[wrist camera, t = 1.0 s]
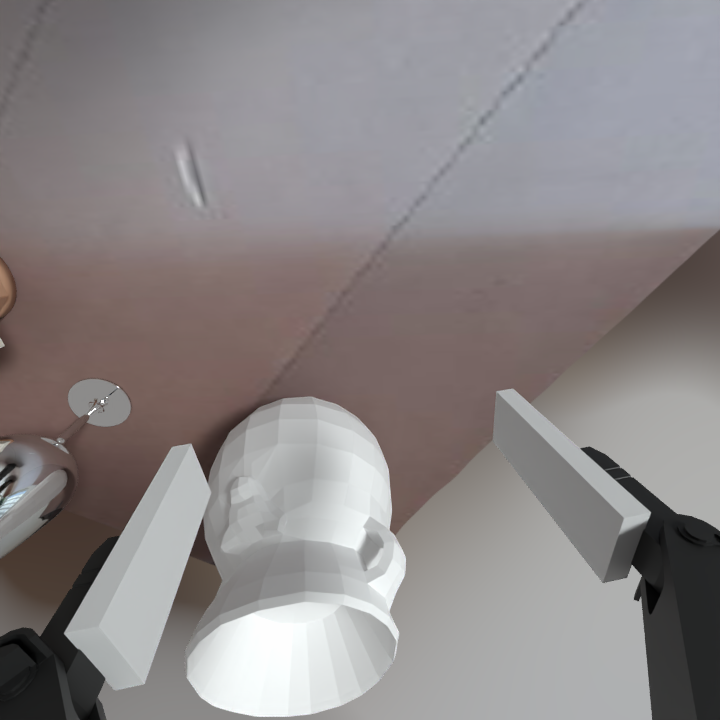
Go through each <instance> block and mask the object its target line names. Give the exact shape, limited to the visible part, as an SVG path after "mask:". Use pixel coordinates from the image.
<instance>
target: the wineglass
mask: <svg viewBox="0 0 720 720" xmlns="http://www.w3.org/2000/svg"><path fill="white" fill-rule="evenodd" d="M68 402H69V405H70V408H71V409H72V411H73V412H74V413H75V414H76V415H77V416H78V417H79V419H78V420H76V421H75V422H74V423H73V424H72V425H71V426H70V427H69V428H68V429H66V430H65V431H64V432H63V433H62V434H61V435H60V436H59V437H57V438H55V439H51V438H48V437H44V436H39V435H32V434H12V435H5V436H0V559H1V558H2V557H4V556H5V555H6V554H8V553H9V552H10V551H12V550H13V549H14V548H16V547H17V546H18V545H20V544H21V543H23V542H24V541H25V540H27V539H28V538H29V537H30V536H32V535H33V534H34V533H36V532H37V531H38V530H39V529H41V528H42V527H43V526H44V525H46V524H47V523H48V522H50V521H51V520H52V519H53V518H54V517H56V515H58V514H59V513H60V512H61V511H62V510H63V509H64V508H65V507H66V506H67V504H68V503H69V502H70V500H71V499H72V497H73V496H74V494H75V491H76V489H77V485H78V478H79V473H78V467H77V463H76V461H75V459H74V457H73V455H72V454H71V452H70V451H69V450H68V449H67V448H66V447H65V442H66V441H67V440H68V439H69V438H70V437H72V436H73V435H74V434H75V433H76V432H77V431H78V430H79V429H80V428H81V427H82V426H83V425H84V424H85V423H86V422H87V423H90V424H93V425H96V426H103V427H109V426H115V425H118V424H120V423H122V422H123V421H125V420H126V419H127V418H128V416H129V415H130V413H131V408H132V406H131V401H130V398H129V396H128V395H127V393H126V392H125V391H124V390H123V389H122V388H121V387H119V386H118V385H116V384H115V383H113V382H110V381H108V380H104V379H99V378H89V379H84V380H81V381H79V382H77V383H76V384H75V385H73V386H72V388H71V389H70V391H69V394H68Z"/></svg>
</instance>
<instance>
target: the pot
mask: <svg viewBox="0 0 720 720" xmlns="http://www.w3.org/2000/svg"><path fill="white" fill-rule="evenodd" d="M15 300H16V284H15V281H14V278H13V276H12V273H11V271H10V270H9V268H8V266H7V265H6V264H5V262H4V261H3V260H2V258H1V257H0V318H2V317H4V316H5V315H7V314H8V313H9V312H10V311H11V309H12V308H13V306H14V304H15Z"/></svg>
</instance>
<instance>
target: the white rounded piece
mask: <svg viewBox="0 0 720 720" xmlns="http://www.w3.org/2000/svg"><path fill="white" fill-rule="evenodd" d="M208 486H209V488H210V490H211V495H210V498H209V501H208V504H207V506H206V509H205V512H204V515H203V519H204V532H205V540H206V543H207V545H208V548H209V550H210V553H211V555H212V558H213V560H214V562H215V565H216V567H217V569H218V572H219V574H220V576H221V578H222V583H221V585H220V587H219V590H218V592H217V595H216V597H215V599H214V601H213V602H212V603H211V605H210V606H209V607H208V609H207V610H206V612H205V613H204V615H203V617H202V618H201V620H200V622H199V623H198V625H197V627H196V628H195V631H194V633H193V635H192V637H191V639H190V641H189V643H188V645H187V647H186V649H185V673H186V676H187V678H188V680H189V681H190V683H191V684H192V686H193V687H194V689H195V690H196V692H197V693H198V694H199V696H200V697H201V698H202V699H204V700H205V701H207V702H208V703H210V704H211V705H213V706H215V707H218V708H221V709H224V710H228V711H231V712H236V713H241V714H246V715H251V716H256V717H288V716H298V715H308V714H314V713H317V712H320V711H324V710H327V709H331V708H335V707H338V706H341V705H343V704H345V703H347V702H349V701H351V700H353V699H355V698H357V697H359V696H361V695H363V694H364V693H365V692H366V691H367V690H369V689H370V688H371V687H372V686H373V685H375V684H376V683H377V682H378V681H379V680H380V679H381V678H382V677H383V675H384V674H385V673H386V671H387V670H388V668H389V667H390V666H391V664H392V663H393V661H394V658H395V655H396V650H397V643H398V637H399V632H398V629H397V627H396V625H395V623H394V621H393V618H392V616H391V614H390V612H389V611H390V608H391V605H392V602H393V599H394V597H395V594H396V592H397V590H398V588H399V586H400V584H401V582H402V580H403V578H404V576H405V567H406V557H405V555H404V553H403V551H402V548H401V546H400V544H399V543H398V540H397V539H396V537H395V535H394V534H393V533H392V532H391V531H390V530H389V529H390V522H391V514H392V504H391V492H390V480H389V469H388V466H387V464H386V461H385V458H384V456H383V453H382V451H381V448H380V446H379V444H378V442H377V440H376V438H375V436H374V435H373V434H372V433H371V432H370V430H369V429H368V428H367V427H366V426H365V425H364V424H363V423H362V422H361V421H360V420H359V419H358V418H357V417H356V416H355V415H353V414H352V413H350V412H348V411H347V410H345V409H344V408H342V407H341V406H339V405H337V404H334V403H331V402H327V401H324V400H321V399H317V398H314V397H297V398H283V399H280V400H277V401H275V402H272V403H269V404H267V405H264V406H261V407H259V408H258V409H256V410H255V411H254V412H253V413H252V414H250V415H249V416H248V417H247V418H246V419H244V420H243V421H242V422H241V423H240V424H238V425H237V426H236V427H235V428H234V429H232V430H231V431H230V433H229V434H228V436H227V438H226V440H225V441H224V443H223V445H222V446H221V448H220V450H219V452H218V454H217V456H216V459H215V461H214V463H213V465H212V468H211V470H210V475H209V480H208Z"/></svg>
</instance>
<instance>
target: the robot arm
mask: <svg viewBox="0 0 720 720" xmlns="http://www.w3.org/2000/svg"><path fill="white" fill-rule="evenodd" d="M493 442H494V444H495V445H496V446H497V447H498V449H499V450H500V451H501V453H502V454H503V455H504V456H505V458H506V459H507V460H508V462H509V463H510V464H511V465H512V467H513V468H514V469H515V470H516V472H517V473H518V474H519V476H520V477H521V478H522V480H523V481H524V482H525V483H526V485H527V486H528V487H529V488H530V490H531V491H532V492H533V494H534V495H535V496H536V498H537V499H538V500H539V501H540V503H541V504H542V505H543V507H544V508H545V509H546V510H547V512H548V513H549V514H550V516H551V517H552V518H553V519H554V521H555V522H556V523H557V524H558V526H559V527H560V528H561V530H562V531H563V532H564V533H565V535H566V536H567V537H568V539H569V540H570V541H571V543H572V544H573V545H574V546H575V548H576V549H577V550H578V552H579V553H580V554H581V555H582V557H583V558H584V559H585V560H586V562H587V563H588V564H589V566H590V567H591V568H592V570H593V571H594V572H595V573H596V575H597V576H598V577H599V578H600V580H601V581H602V582H603V583H605V582H609V581H614V580H619V579H623V578H627V576H628V574H629V571H630V568H631V565H633V566H634V567H635V568H636V569H637V570H638V572H639V573H640V574H641V575H642V577H641V580H640V582H639V585H638V587H637V590H636V593H635V596H634V600H637V601H639V599H640V597H641V598H642V608H643V609H642V610H643V620H644V632H645V643H646V654H647V664H648V676H649V687H650V699H651V710H652V720H720V531H719V530H717V529H716V528H715V527H713V526H711V525H710V524H708V523H706V522H704V521H702V520H700V519H697V518H694V517H692V516H687V515H681V514H676V513H675V512H674V511H673V510H671V509H670V508H669V507H668V506H667V505H665V504H664V503H663V502H662V501H660V500H659V499H658V498H657V497H656V496H654V495H653V494H652V493H651V492H650V491H649V490H647V489H646V488H645V487H644V486H643V485H641V484H640V483H639V482H638V481H637V480H635V479H634V478H631V476H630V475H629V474H628V473H627V472H626V471H625V470H624V469H622V468H620V466H619V465H618V464H616V463H615V462H614V461H613V460H612V459H610V458H609V457H608V456H607V455H605V454H603V453H601V452H599V451H597V450H595V449H593V448H591V447H585V448H579V447H578V446H576V445H575V444H574V443H573V442H572V441H571V440H570V439H568V438H567V437H566V436H565V435H564V434H563V433H562V432H561V431H560V430H558V429H557V428H556V427H555V426H554V425H553V424H552V423H551V422H549V420H547V419H546V418H545V417H544V416H543V415H542V414H541V413H539V412H538V411H537V410H536V409H535V408H534V407H533V406H532V405H531V404H530V403H528V402H527V401H526V400H525V399H524V398H523V397H522V396H521V395H519V394H518V393H517V392H516V391H515V390H514V389H508V390H502V391H496V403H495V417H494V430H493ZM210 495H211V490H210V488H209V486H208V483H207V481H206V478H205V476H204V473H203V471H202V469H201V466H200V464H199V461H198V459H197V456H196V454H195V452H194V449H193V447H192V444H186V445H180V446H174V447H172V448H171V450H170V451H169V453H168V455H167V457H166V458H165V460H164V462H163V463H162V465H161V467H160V469H159V470H158V472H157V474H156V475H155V477H154V479H153V481H152V482H151V484H150V486H149V488H148V489H147V491H146V493H145V494H144V496H143V498H142V500H141V501H140V503H139V505H138V506H137V508H136V510H135V512H134V513H133V515H132V517H131V519H130V520H129V522H128V524H127V525H126V527H125V529H124V531H123V532H122V534H121V536H117V537H111V538H108V539H107V540H106V541H105V542H104V543H103V544H102V545H101V546H100V547H99V548H98V549H97V550H96V551H95V552H94V553H93V554H92V555H91V557H90V559H89V560H88V562H87V563H86V565H85V567H84V568H83V570H82V574H81V575H79V576H78V578H77V579H76V581H75V582H74V584H73V588H72V589H70V590H69V592H68V593H67V595H66V597H65V598H64V600H63V601H62V603H61V605H60V606H59V608H58V609H57V611H56V613H55V614H54V616H53V617H52V619H51V621H50V622H49V624H48V625H47V627H46V628H45V630H44V632H43V633H42V635H41V636H40V637H39V636H38V635H37V634H36V633H35V631H33V629H31V628H20V629H16V630H13V631H10V632H8V633H6V634H5V635H3V636H1V637H0V720H106V716H105V713H104V709H103V706H102V703H101V702H100V701H99V699H98V698H97V697H98V695H99V693H100V690H101V688H102V686H103V683H104V681H105V680H106V682H107V683H109V685H110V686H111V687H112V688H113V689H114V690H120V689H124V688H129V687H133V686H138V685H142V684H145V681H146V678H147V675H148V672H149V669H150V667H151V664H152V661H153V658H154V655H155V652H156V650H157V647H158V644H159V641H160V638H161V635H162V632H163V629H164V627H165V624H166V621H167V618H168V615H169V612H170V610H171V607H172V603H173V601H174V598H175V595H176V592H177V589H178V586H179V584H180V581H181V578H182V575H183V572H184V569H185V567H186V564H187V561H188V558H189V555H190V552H191V549H192V547H193V544H194V541H195V538H196V535H197V532H198V529H199V527H200V524H201V521H202V518H203V515H204V512H205V509H206V506H207V504H208V501H209V498H210Z"/></svg>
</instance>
